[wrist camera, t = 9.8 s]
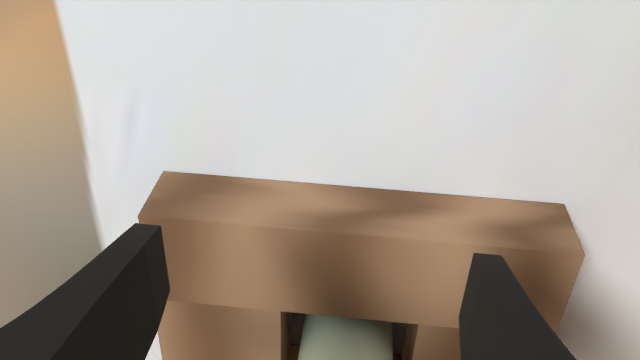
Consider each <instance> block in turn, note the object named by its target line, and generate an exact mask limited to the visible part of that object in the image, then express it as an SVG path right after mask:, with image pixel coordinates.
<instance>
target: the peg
mask: <svg viewBox="0 0 640 360" xmlns="http://www.w3.org/2000/svg"><path fill="white" fill-rule="evenodd" d="M298 360H393V322H388V321H377V320H367V319H356V318H346V317H335V316H325V315H314V314H305V317H304V323H303V330H302V336H301V343H300V350H299V356H298Z"/></svg>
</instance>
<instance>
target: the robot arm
mask: <svg viewBox="0 0 640 360" xmlns="http://www.w3.org/2000/svg"><path fill="white" fill-rule="evenodd" d="M169 292H170V284H169V277H168V271H167V264H166V257H165V250H164V243H163V236H162V229H161V225H150V224H138V223H135V224H134V225H133V226H132V227H130V228H129V229H128V230H127V231H126V232H124V233H123V234H122V235H121V236H120V237H119V238H117V239H116V240H115V241H114V242H113V243H112V244H110V245H109V246H108V247H107V248H106V249H105V250H103V251H102V252H101V253H100V254H99V255H98V256H96V257H95V258H94V259H93V260H92V261H91V262H90V263H88V264H87V265H86V266H85V267H83V268H82V269H81V270H80V271H79V272H77V273H76V274H75V275H74V276H73V277H71V278H70V279H69V280H68V281H67V282H66V283H64V284H63V285H61V286H60V287H59V288H58V289H56V290H55V291H53V292H52V293H51V294H49V295H48V296H47V297H45V298H44V299H43V300H42V301H40V302H39V303H37V304H36V305H35V306H33V307H32V308H31V309H29V310H28V311H26V312H25V313H23V314H22V315H20V316H19V317H17V318H16V319H14V320H13V321H11V322H9V323H8V324H6V325H5V326H3V327H2V328H0V360H145V358H146V356H147V353H148V351H149V349H150V347H151V345H152V342H153V340H154V338H155V335H156V333H157V331H158V329H159V325H160V322H161V319H162V316H163V313H164V310H165V306H166V303H167V299H168V296H169ZM459 335H460V351H461V360H576V359H575V357H574V356H573V355H572V354H571V353H570V351H569V350H568V349H567V348H566V347H565V345H564V344H563V343H562V341H561V340H560V339H559V338H558V336H557V335H556V334H555V332H554V331H553V330H552V328H551V327H550V326H549V324H548V323H547V322H546V320H545V319H544V318H543V316H542V315H541V313H540V312H539V311H538V309H537V308H536V306H535V305H534V304H533V302H532V301H531V299H530V298H529V296H528V295H527V293H526V292H525V290H524V289H523V287H522V286H521V284H520V283H519V281H518V280H517V278H516V277H515V275H514V273H513V272H512V270H511V269H510V267H509V266H508V264H507V262H506V261H505V259H504V258H503V257H502V256H501V255H493V254H481V253H473V258H472V262H471V266H470V270H469V275H468V279H467V283H466V287H465V292H464V296H463V300H462V304H461V308H460V313H459Z"/></svg>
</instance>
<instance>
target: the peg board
mask: <svg viewBox="0 0 640 360" xmlns="http://www.w3.org/2000/svg"><path fill="white" fill-rule="evenodd" d="M138 220H139V224H150V225H161V229H162V236H163V243H164V250H165V257H166V264H167V271H168V277H169V284H170V292H169V296H168V299H167V303H166V306H165V310H164V313H163V316H162V319H161V322H160V325H159V329H158V336H159V342H160V348H161V354H162V359H163V360H298V356H299V350H300V346H295V345H290V312H293V313H304V314H314V315H325V316H335V317H346V318H356V319H367V320H377V321H388V322H398V323H407V327H406V333H405V339H404V345H403V351H402V356H397V355H393V360H461V351H460V335H459V313H460V308H461V304H462V300H463V296H464V292H465V287H466V283H467V279H468V275H469V270H470V266H471V262H472V258H473V253H481V254H493V255H501V256H502V257H503V258H504V259H505V261H506V262H507V264H508V266H509V267H510V269H511V270H512V272H513V273H514V275H515V277H516V278H517V280H518V281H519V283H520V284H521V286H522V287H523V289H524V290H525V292H526V293H527V295H528V296H529V298H530V299H531V301H532V302H533V304H534V305H535V306H536V308H537V309H538V311H539V312H540V313H541V315H542V316H543V318H544V319H545V320H546V322H547V323H548V324H549V326H550V327H551V328H552V330H553V331H554V332H555V334H556V331H557V328H558V325H559V323H560V320H561V317H562V315H563V312H564V309H565V307H566V304H567V301H568V299H569V296H570V293H571V291H572V288H573V285H574V283H575V280H576V277H577V275H578V272H579V269H580V267H581V264H582V261H583V259H584V256H585V253H584V251H583V249H582V246H581V244H580V241H579V239H578V236H577V234H576V232H575V229H574V227H573V224H572V222H571V220H570V217H569V215H568V212H567V210H566V208H565V205H564V204H557V203H544V202H532V201H520V200H508V199H496V198H484V197H471V196H459V195H447V194H435V193H423V192H410V191H398V190H386V189H374V188H362V187H350V186H337V185H325V184H313V183H301V182H289V181H276V180H264V179H252V178H240V177H228V176H216V175H203V174H191V173H179V172H167V171H163V173H162V174H161V176H160V178H159V180H158V181H157V183H156V185H155V187H154V188H153V190H152V192H151V194H150V195H149V197H148V199H147V201H146V202H145V204H144V206H143V208H142V209H141V211H140V213H139V215H138Z"/></svg>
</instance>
